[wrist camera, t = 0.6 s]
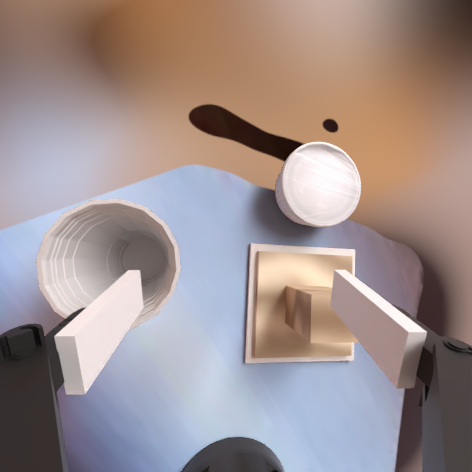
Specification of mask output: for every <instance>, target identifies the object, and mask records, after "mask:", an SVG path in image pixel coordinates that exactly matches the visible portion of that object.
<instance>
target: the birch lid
mask: <svg viewBox="0 0 472 472" xmlns="http://www.w3.org/2000/svg"><path fill="white" fill-rule="evenodd" d="M334 270H346V271H348V272H349V273H350V274H352V256H342V255H324V254H305V253H287V252H268V251H258V261H257V284H256V308H255V331H254V354H253V356H254V357H255V358H283V357H322V356H351V353H352V343H353V342H359V341H358V340H357V339H356V337H355V336H354V335H353V334H352V332H351V331H350V330H349V329H348V328H347V326H346V325H345V324H344V323H343V321H342V320H341V319H340V318H339V316H338V315H337V314H336V313H335V311H334V310H333V309H332V308H331V307H330V302H331V294H332V286H333V277H334Z"/></svg>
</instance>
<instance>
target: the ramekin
mask: <svg viewBox="0 0 472 472" xmlns="http://www.w3.org/2000/svg"><path fill="white" fill-rule="evenodd" d="M360 192H361V181H360V176H359V173H358V170H357V168H356V166H355V164H354V162H353V161H352V160H351V158H350V157H349V156H348V155H347V154H346V153H345V152H344V151H343V150H341V149H340V148H338V147H336V146H334V145H332V144H329V143H325V142H311V143H307V144H304V145H302V146H300V147H299V148H297V149H296V150H295V151H294V152H292V153H291V154H290V156H289V157H288V158H287V159H286V161H285V163H284V165H283V167H282V170H281V172H280V174H279V176H278V179H277V182H276V188H275V195H276V200H277V203H278V206H279V207H280V209H281V211H282V212H283V213H284V214H285V215H286V216H287V217H288V218H289V219H290V220H292V221H294V222H296V223H298V224H301V225H309V226H312V227H329V226H334V225H336V224H339V223H341V222H343V221H344V220H345V219H347V218H348V217H349V216H350V215H351V214H352V212H353V211H354V210H355V208H356V206H357V204H358V201H359V198H360Z"/></svg>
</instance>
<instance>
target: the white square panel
mask: <svg viewBox="0 0 472 472" xmlns="http://www.w3.org/2000/svg"><path fill="white" fill-rule="evenodd" d="M258 251H268V252H287V253H305V254H324V255H342V256H352V275H353V276H354V277H355V250H353V249H336V248H319V247H302V246H286V245H269V244H252V243H251V244H250V260H249V282H248V304H247V326H246V348H245V363H279V362H313V361H347V360H354V342H353V343H352V353H351V356H322V357H283V358H255V357H254V356H253V354H254V331H255V308H256V284H257V261H258Z"/></svg>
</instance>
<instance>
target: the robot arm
mask: <svg viewBox="0 0 472 472" xmlns="http://www.w3.org/2000/svg"><path fill="white" fill-rule="evenodd" d="M330 307H331V308H332V309H333V310H334V311H335V313H336V314H337V315H338V316H339V318H340V319H341V320H342V321H343V323H344V324H345V325H346V326H347V328H348V329H349V330H350V331H351V332H352V334H353V335H354V336H355V337H356V339H357V340H358V341H359V342H360V344H361V345H362V346H363V347H364V349H365V350H366V351H367V352H368V354H369V355H370V356H371V357H372V358H373V360H374V361H375V362H376V363H377V365H378V366H379V367H380V368H381V370H382V371H383V372H384V373H385V375H386V376H387V377H388V378H389V380H390V381H391V382H392V383H393V384H394V386H395V387H396V388H414V385H415V381H416V377H417V376H418V377H419V378H420V379H421V380H422V382H423V383H424V387H423V391H422V395H421V399H420V403H419V406H421V407H423V472H472V347H471V346H470V345H468V344H466V343H464V342H462V341H459V340H457V339H454V338H450V337H442V336H438V335H437V334H436V333H434V332H433V331H432V330H430V329H429V328H427V327H426V326H425V325H423V324H422V323H421V322H418V320H417V319H415V318H414V317H412V316H411V315H410V314H409V313H407V312H406V311H405V310H403V309H401V308H399V307H397V306H395V305H391V304H390V303H388V302H387V301H386V300H384V299H383V298H382V297H381V296H379V295H378V294H377V293H375V292H374V291H373V290H371V289H370V288H369V287H367V286H366V285H365V284H363V283H362V282H361V281H360V280H358V279H357V278H356V277H354V276H353V275H352V274H350V273H349V272H348V271H346V270H334V277H333V286H332V294H331V302H330ZM142 309H143V296H142V286H141V275H140V270H128V271H127V272H126V273H125V274H124V275H122V276H121V277H120V278H119V279H118V280H117V281H116V282H115V283H113V284H112V285H111V286H110V287H109V288H108V289H107V290H106V291H104V292H103V293H102V294H101V295H100V296H99V297H98V298H97V299H95V300H94V301H93V302H92V303H91V304H90V305H89V306H88V307H87V308H81V309H79V310H77V311H75V312H73V313H72V314H70V315H69V316H68V317H67V318H66V319H65V320H64V321H62V322H61V323H60V324H59V325H58V326H56V327H55V328H54V329H53V330H52V331H50V332H49V333H48V334H47V335H46V336H44V332H43V328H42V326H41V325H39V324H27V325H23V326H19V327H16V328H13V329H11V330H9V331H7V332H5V333H3V334H2V335H0V472H69V468H68V462H67V455H66V449H65V442H64V436H63V429H62V423H61V416H60V410H59V403H58V397H57V393H56V392H57V390H58V389H59V388H60V387H61V386H62V384H63V383H64V387H65V392H66V395H76V394H86V392H87V391H88V389H89V388H90V386H91V385H92V383H93V382H94V380H95V379H96V377H97V376H98V374H99V373H100V371H101V370H102V368H103V367H104V365H105V364H106V363H107V361H108V360H109V358H110V357H111V355H112V354H113V352H114V351H115V349H116V348H117V346H118V345H119V343H120V342H121V340H122V339H123V337H124V336H125V334H126V333H127V331H128V330H129V328H130V327H131V325H132V324H133V322H134V321H135V319H136V318H137V316H138V315H139V313H140V312H141V310H142ZM183 472H284V469H283V467H282V465H281V463H280V461H279V459H278V458H277V456H276V455H275V454H274V453H273V452H272V450H270V449H269V448H268V447H267V446H265V445H264V444H262V443H260V442H258V441H256V440H253V439H250V438H243V437H234V438H227V439H223V440H220V441H217V442H215V443H213V444H211V445H209V446H208V447H206V448H204V449H203V450H202V451H200V452H199V453H198V454H197V455H196V456H195V457H194V458H193V459H192V460H191V461H190V462H189V463H188V465H187V466H186V467H185V469H184V470H183Z"/></svg>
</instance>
